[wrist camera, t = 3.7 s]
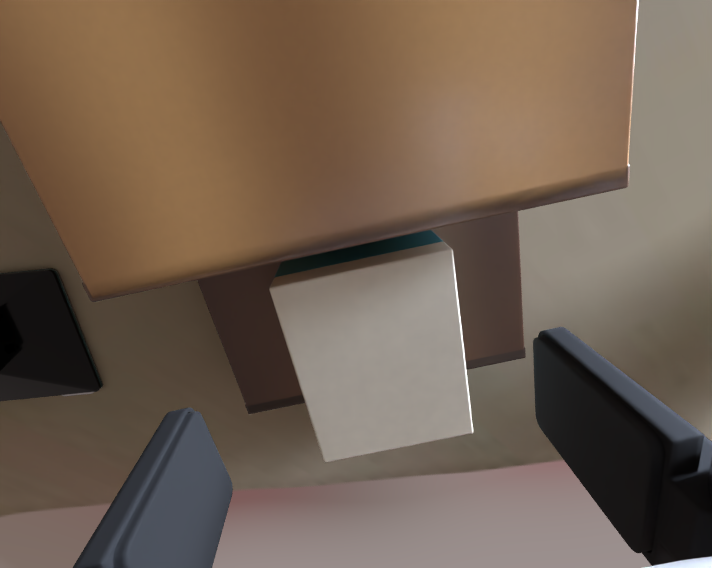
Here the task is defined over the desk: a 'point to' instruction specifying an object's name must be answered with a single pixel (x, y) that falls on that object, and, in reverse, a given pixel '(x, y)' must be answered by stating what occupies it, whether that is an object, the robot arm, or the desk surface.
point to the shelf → (311, 143)
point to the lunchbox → (377, 344)
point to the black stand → (41, 339)
